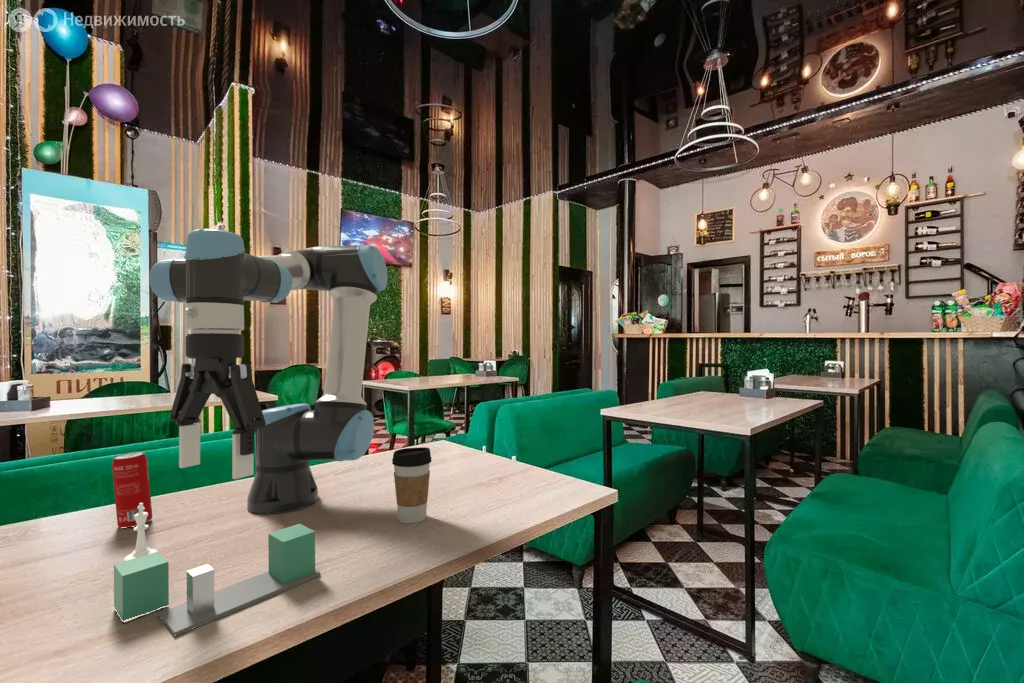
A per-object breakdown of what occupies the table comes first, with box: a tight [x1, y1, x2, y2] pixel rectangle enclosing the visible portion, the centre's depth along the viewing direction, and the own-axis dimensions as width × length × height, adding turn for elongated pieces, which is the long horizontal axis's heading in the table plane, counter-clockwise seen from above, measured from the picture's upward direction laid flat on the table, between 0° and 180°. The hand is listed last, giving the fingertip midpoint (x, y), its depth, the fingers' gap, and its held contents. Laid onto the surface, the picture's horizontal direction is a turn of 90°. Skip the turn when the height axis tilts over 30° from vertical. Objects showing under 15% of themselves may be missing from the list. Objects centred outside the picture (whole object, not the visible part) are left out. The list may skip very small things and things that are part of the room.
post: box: [186, 563, 215, 616], centre depth 65 cm, size 3×3×6 cm
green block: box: [113, 551, 170, 621], centre depth 66 cm, size 5×5×7 cm
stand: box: [158, 523, 321, 637], centre depth 70 cm, size 7×20×7 cm, turn 141°
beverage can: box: [111, 451, 153, 528], centre depth 97 cm, size 6×6×15 cm
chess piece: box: [123, 503, 159, 562], centre depth 81 cm, size 5×5×10 cm
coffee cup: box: [391, 446, 433, 525], centre depth 99 cm, size 8×8×15 cm
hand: (215, 471), depth 70 cm, fingers open, 13 cm apart
